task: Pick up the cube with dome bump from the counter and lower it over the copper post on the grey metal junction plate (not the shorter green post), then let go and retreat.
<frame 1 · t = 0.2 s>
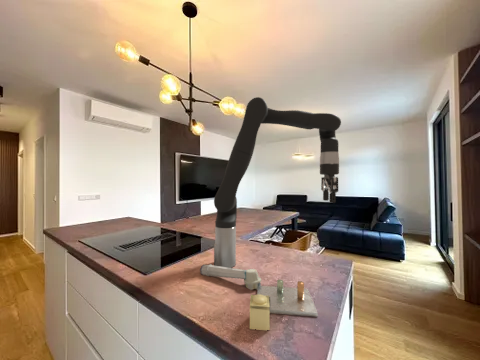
hand: (329, 201, 88), 29 cm above the counter, fingers open, 8 cm apart
junction plate: (284, 300, 65), on the counter
white handheld device: (229, 281, 78), on the counter, touching junction plate
cube with dome bump: (259, 323, 55), on the counter
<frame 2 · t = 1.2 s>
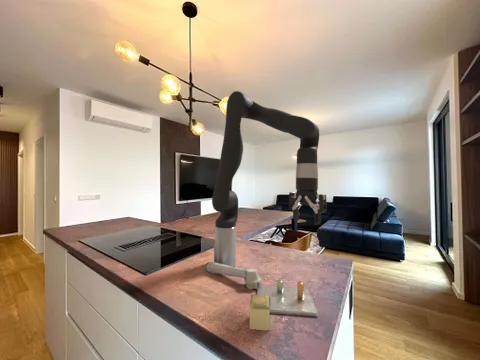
hand: (306, 222, 74), 23 cm above the counter, fingers open, 8 cm apart
white handheld device: (231, 280, 79), on the counter, touching junction plate
everything else where it was.
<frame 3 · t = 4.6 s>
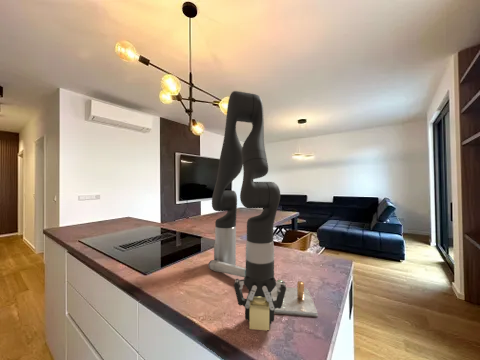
hand: (259, 320, 55), 1 cm above the counter, fingers closed on cube with dome bump, 5 cm apart
white handheld device: (232, 278, 80), on the counter, touching arm, junction plate
cube with dome bump: (259, 323, 55), on the counter, touching gripper
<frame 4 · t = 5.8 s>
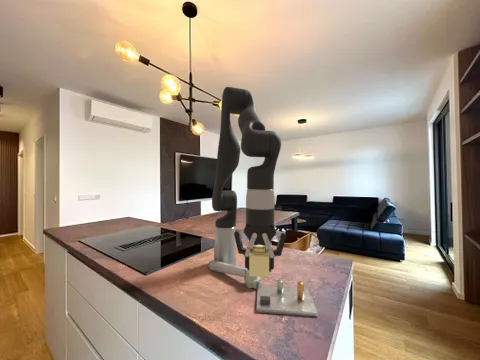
hand: (259, 269, 55), 14 cm above the counter, fingers closed on cube with dome bump, 5 cm apart
cube with dome bump: (259, 272, 55), point 13 cm above the counter, touching gripper
everything else where it was.
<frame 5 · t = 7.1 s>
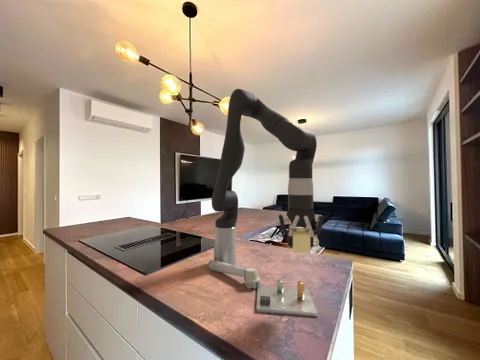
hand: (300, 247, 64), 17 cm above the counter, fingers closed on cube with dome bump, 5 cm apart
cube with dome bump: (300, 249, 64), point 16 cm above the counter, touching gripper
everything else where it was.
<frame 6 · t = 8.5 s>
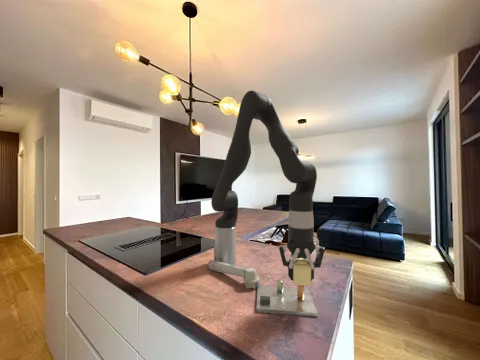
hand: (300, 279, 64), 7 cm above the counter, fingers closed on cube with dome bump, 5 cm apart
white handheld device: (232, 278, 80), on the counter, touching junction plate
cube with dome bump: (300, 281, 64), point 6 cm above the counter, touching gripper
when the fingers open (2 cm above the counter, at t = 9.9 s): cube with dome bump stays where it is, resting on junction plate.
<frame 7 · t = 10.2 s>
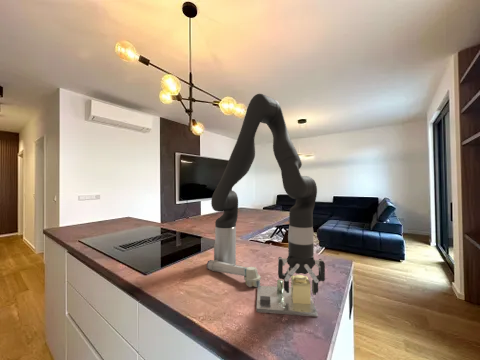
hand: (300, 292, 64), 3 cm above the counter, fingers open, 7 cm apart
white handheld device: (232, 278, 81), on the counter
cube with dome bump: (300, 298, 64), point 1 cm above the counter, touching junction plate
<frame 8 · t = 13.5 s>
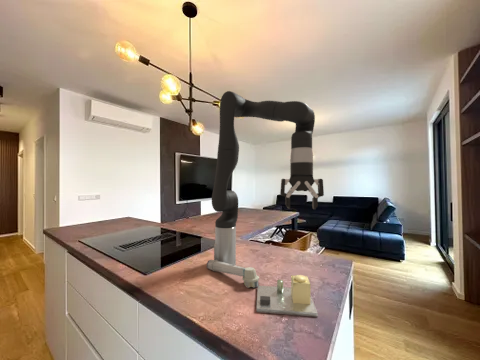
hand: (301, 208, 71), 28 cm above the counter, fingers open, 8 cm apart
nothing on the counter moved.
at the end: cube with dome bump 0.1 cm from the target spot on the junction plate, point 1.0 cm above the junction plate's base; the gripper is holding nothing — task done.
